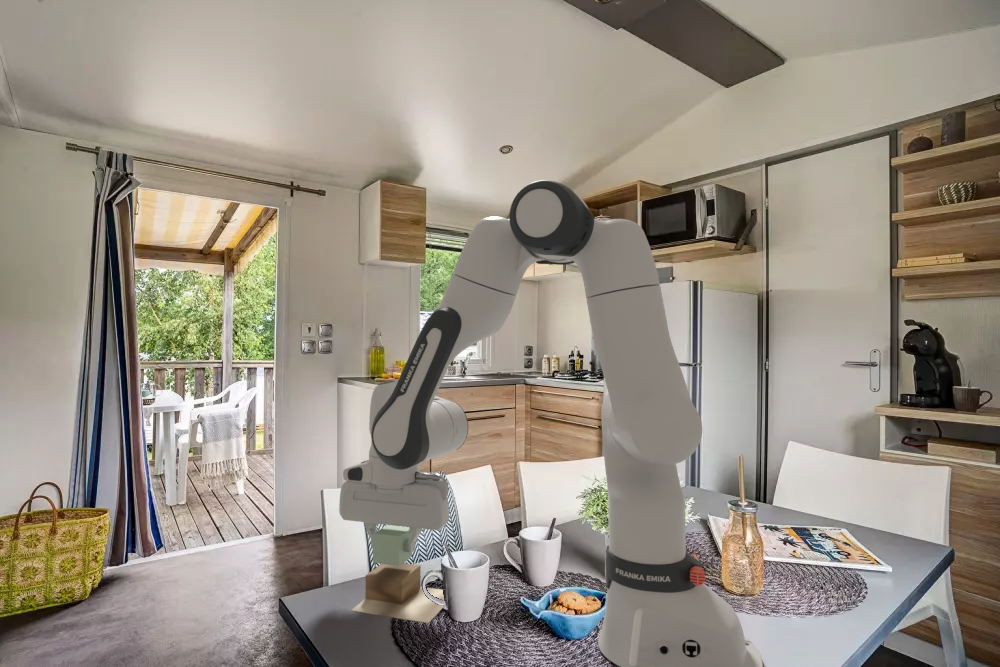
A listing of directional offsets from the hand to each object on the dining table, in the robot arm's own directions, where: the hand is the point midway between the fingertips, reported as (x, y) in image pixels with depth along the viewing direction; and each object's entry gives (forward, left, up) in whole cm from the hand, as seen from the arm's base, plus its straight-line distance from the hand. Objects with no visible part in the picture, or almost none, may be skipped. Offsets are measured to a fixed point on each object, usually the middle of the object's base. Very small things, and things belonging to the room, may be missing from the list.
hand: (393, 549), depth 98 cm
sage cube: (0, 0, -2) cm, 2 cm away
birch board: (-4, +2, -9) cm, 10 cm away
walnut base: (0, 0, -8) cm, 8 cm away
